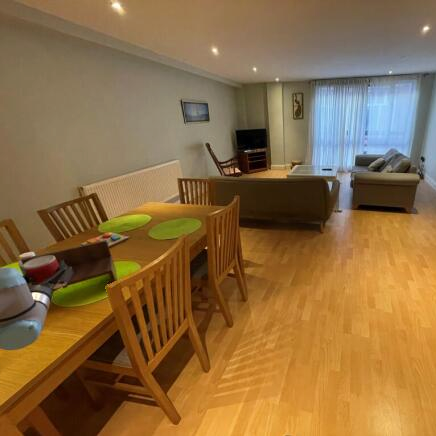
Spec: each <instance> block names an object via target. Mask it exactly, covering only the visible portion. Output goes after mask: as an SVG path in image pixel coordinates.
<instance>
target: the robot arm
mask: <svg viewBox="0 0 436 436" xmlns="http://www.w3.org/2000/svg"><path fill="white" fill-rule="evenodd" d="M58 270H59V271H57V272H56V273H55V274H54V275H53V276H51V277H50V278H49V279H46V280H45V281H43V282H42V283H40V284H37V285H32V286H30V285H29V283H30V280H29V279H28V277H27V275H26V273H25V275H23V274H22V272H20V270H18V269H17V268H15V267H1V268H0V349H1V350H3V351H17V350H18V351H19V350H21V349H24V348H27V347H29V346H30V345H32V344H34V343H35V342H36V341H37V339H38V338H39V337H40V335H41V332H42V331H43V330H44V324H45V321H46V318H47V314H48V311H49V308H50V305H51V303H52V299H53V297H54V296H53V295H54V292H56V291H57V290H56V288H59V287H62V289H67V288H68V286H67V283H68V282H69V280H70V278H71V277H72V275H73V273H74V272H73V270H72V267H67V265H65V262H64V260H61V261H60V264H59V267H58ZM55 290H56V291H55Z"/></svg>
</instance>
